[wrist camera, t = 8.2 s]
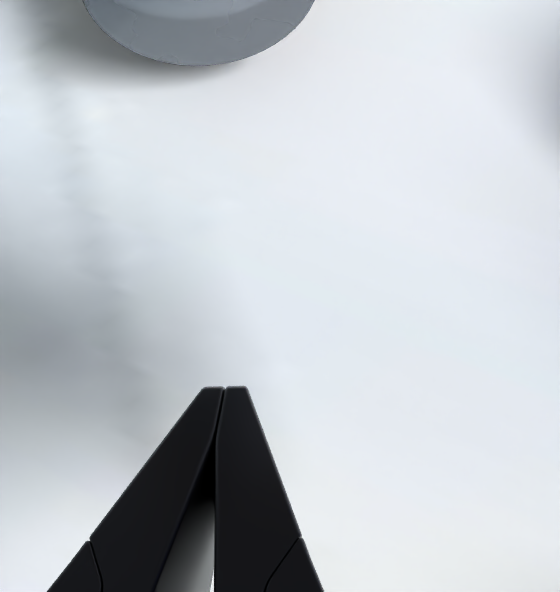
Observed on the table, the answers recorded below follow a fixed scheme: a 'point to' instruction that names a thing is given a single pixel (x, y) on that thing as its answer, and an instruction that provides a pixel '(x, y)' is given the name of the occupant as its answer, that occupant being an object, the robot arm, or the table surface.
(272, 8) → the shaft
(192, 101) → the table surface
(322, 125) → the table surface
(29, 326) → the table surface
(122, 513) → the robot arm
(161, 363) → the table surface
